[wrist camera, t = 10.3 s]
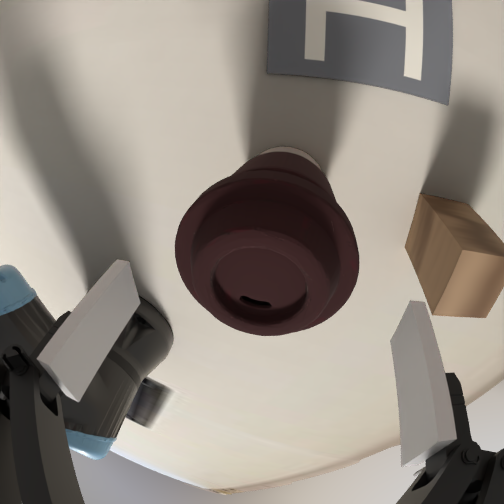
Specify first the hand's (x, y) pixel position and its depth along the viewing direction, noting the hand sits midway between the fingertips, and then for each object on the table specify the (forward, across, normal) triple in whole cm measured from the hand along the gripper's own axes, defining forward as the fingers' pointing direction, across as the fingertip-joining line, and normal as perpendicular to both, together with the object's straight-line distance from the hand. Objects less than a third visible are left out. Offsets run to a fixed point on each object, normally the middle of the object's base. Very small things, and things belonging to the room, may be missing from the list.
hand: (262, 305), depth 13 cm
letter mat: (+16, +5, +17) cm, 24 cm away
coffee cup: (+16, -1, 0) cm, 16 cm away
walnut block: (+16, +15, -2) cm, 23 cm away
